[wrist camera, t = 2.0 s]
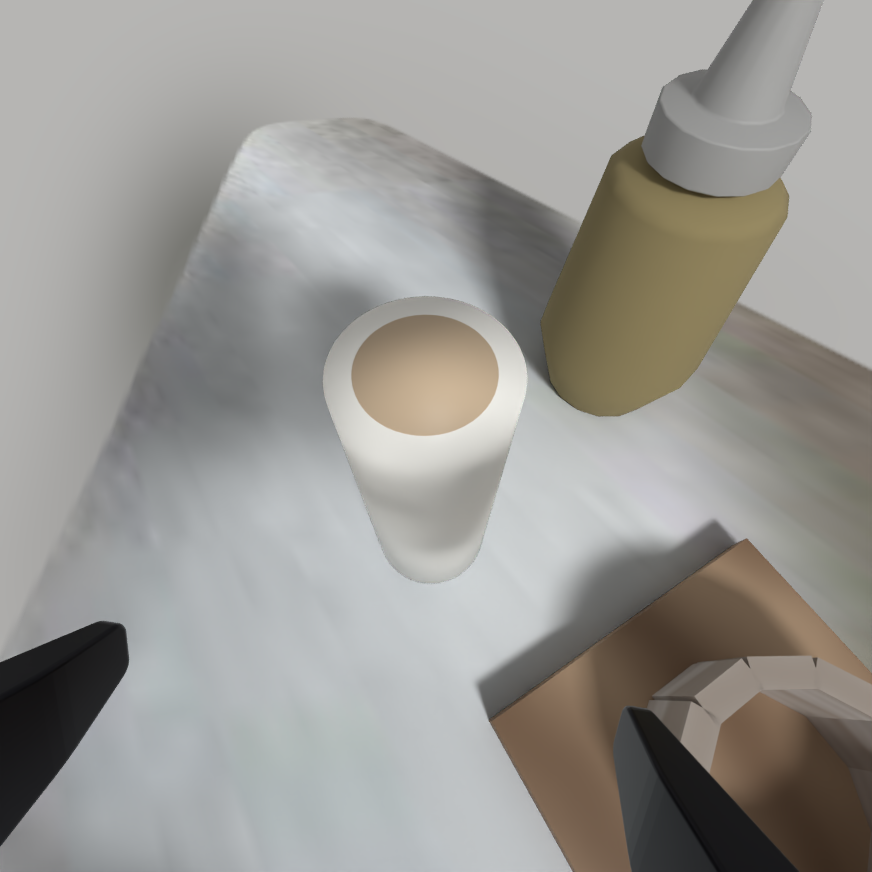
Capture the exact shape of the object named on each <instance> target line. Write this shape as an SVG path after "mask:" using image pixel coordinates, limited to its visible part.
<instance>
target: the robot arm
mask: <svg viewBox="0 0 872 872" xmlns="http://www.w3.org/2000/svg"><path fill="white" fill-rule="evenodd" d="M128 664H129V654H128V644H127V635H126V629H125V627H124V626H123V625H122V624H120V623H114V622H108V621H99V622H96V623H93V624H91V625H89V626H86V627H84V628H81V629H79V630H77V631H74V632H72V633H69V634H67V635H65V636H62V637H60V638H57V639H55V640H53V641H50V642H48V643H46V644H43V645H41V646H38V647H36V648H34V649H31V650H29V651H26V652H24V653H22V654H19V655H17V656H14V657H12V658H10V659H7V660H5V661H3V662H0V846H1V845H2V844H3V843H4V841H5V840H6V839H7V837H8V836H9V835H10V834H11V832H12V831H13V830H14V828H15V827H16V826H17V825H18V823H19V822H20V821H21V820H22V818H23V817H24V816H25V814H26V813H27V812H28V811H29V809H30V808H31V807H32V805H33V804H34V803H35V802H36V800H37V799H38V798H39V797H40V795H41V794H42V793H43V791H44V790H45V789H46V788H47V786H48V785H49V784H50V782H51V781H52V780H53V779H54V777H55V776H56V775H57V773H58V772H59V771H60V769H61V768H62V767H63V765H64V764H65V763H66V761H67V760H68V759H69V757H70V756H71V754H72V753H73V751H74V750H75V749H76V747H77V746H78V744H79V743H80V741H81V740H82V738H83V737H84V735H85V734H86V732H87V731H88V729H89V728H90V726H91V725H92V723H93V722H94V720H95V719H96V717H97V716H98V714H99V712H100V711H101V709H102V708H103V706H104V705H105V703H106V702H107V700H108V699H109V697H110V696H111V694H112V693H113V691H114V690H115V688H116V687H117V685H118V684H119V682H120V681H121V679H122V678H123V676H124V674H125V672H126V670H127V668H128ZM613 757H614V764H615V771H616V777H617V784H618V791H619V797H620V804H621V811H622V817H623V824H624V831H625V837H626V844H627V850H628V856H629V862H630V867H631V871H632V872H800V871H799V870H798V869H797V868H796V867H795V866H794V865H793V864H792V863H791V862H790V861H789V859H788V858H787V857H786V856H785V855H784V854H783V853H782V852H781V851H780V850H779V849H778V847H777V846H776V845H775V844H774V843H773V842H772V841H771V840H770V839H769V838H768V837H767V836H766V834H765V833H764V832H763V831H762V830H761V829H760V828H759V827H758V826H757V825H756V824H755V822H754V821H753V820H752V819H751V818H750V817H749V816H748V815H747V814H746V813H745V812H744V810H743V809H742V808H741V807H740V806H739V805H738V804H737V803H736V802H735V801H734V800H733V799H732V797H731V796H730V795H729V794H728V793H727V792H726V791H725V790H724V789H723V788H722V787H721V785H720V784H719V783H718V782H717V781H716V780H715V779H714V778H713V777H712V776H711V775H710V774H709V772H708V771H707V770H706V769H705V768H704V767H703V766H702V765H701V764H700V763H699V762H698V760H697V759H696V758H695V757H694V756H693V755H692V754H691V753H690V752H689V751H688V750H687V749H686V747H685V746H684V745H683V744H682V743H681V742H680V741H679V740H678V739H677V738H676V737H675V735H674V734H673V733H672V732H671V731H670V730H669V729H668V728H667V727H666V726H665V725H664V723H663V722H662V721H661V720H660V719H659V718H658V717H657V716H656V715H655V714H654V713H653V712H652V711H651V710H649V709H647V708H641V707H635V706H625V707H624V708H623V710H622V713H621V716H620V720H619V724H618V727H617V731H616V735H615V739H614V743H613Z"/></svg>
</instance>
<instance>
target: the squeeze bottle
mask: <svg viewBox="0 0 872 872" xmlns="http://www.w3.org/2000/svg"><path fill="white" fill-rule="evenodd" d="M823 1H824V0H753V1H752V2H751V4H750V5H749V7H748V8H747V10H746V11H745V13H744V15H743V16H742V18H741V19H740V21H739V22H738V24H737V25H736V27H735V28H734V30H733V31H732V33H731V35H730V36H729V38H728V39H727V41H726V42H725V44H724V45H723V47H722V48H721V50H720V52H719V53H718V55H717V56H716V58H715V59H714V61H713V62H712V64H711V65H710V67H709V69H708V70H698V71H694V72H690V73H686V74H682V75H679V76H678V77H677V78H675V79H674V80H672V81H671V82H669V83H668V84H666V85H665V86H664V87H663V88H662V90H661V93H660V96H659V98H658V101H657V104H656V107H655V109H654V112H653V115H652V117H651V120H650V123H649V125H648V128H647V131H646V134H645V136H642V137H640V138H638V139H635V140H633V141H631V142H629V143H628V144H626V145H625V146H624V147H622V148H621V149H620V150H618V151H617V152H616V153H614V154H613V155H612V156H611V158H610V160H609V162H608V165H607V167H606V169H605V172H604V174H603V177H602V179H601V181H600V183H599V186H598V188H597V190H596V193H595V195H594V197H593V199H592V202H591V204H590V207H589V209H588V211H587V214H586V216H585V218H584V220H583V223H582V225H581V227H580V230H579V232H578V234H577V237H576V239H575V241H574V244H573V246H572V248H571V251H570V253H569V255H568V257H567V260H566V262H565V264H564V267H563V269H562V271H561V274H560V276H559V278H558V281H557V283H556V285H555V288H554V290H553V292H552V295H551V297H550V299H549V302H548V304H547V307H546V309H545V312H544V314H543V317H542V319H541V329H542V336H543V343H544V349H545V355H546V360H547V365H548V371H549V376H550V382H551V383H552V385H553V386H554V388H555V389H556V391H557V392H558V394H559V395H560V397H561V398H562V399H564V400H565V401H566V402H568V403H569V404H571V405H572V406H573V407H575V408H576V409H577V410H580V411H583V412H586V413H589V414H592V415H596V416H621V415H623V414H626V413H628V412H631V411H634V410H636V409H638V408H640V407H642V406H644V405H646V404H648V403H650V402H652V401H654V400H656V399H658V398H660V397H662V396H664V395H666V394H668V393H670V392H672V391H674V390H677V389H679V388H680V387H681V386H682V385H683V384H684V383H685V382H686V381H687V379H688V378H689V377H690V376H691V375H692V374H693V373H694V372H695V371H696V369H697V368H698V366H699V365H700V363H701V361H702V360H703V358H704V356H705V355H706V353H707V351H708V350H709V348H710V346H711V345H712V343H713V341H714V340H715V338H716V336H717V335H718V333H719V331H720V330H721V328H722V326H723V325H724V323H725V321H726V319H727V318H728V316H729V314H730V313H731V311H732V309H733V308H734V306H735V304H736V303H737V301H738V299H739V298H740V296H741V294H742V293H743V291H744V289H745V288H746V286H747V284H748V282H749V281H750V279H751V277H752V275H753V274H754V272H755V271H756V269H757V267H758V266H759V264H760V262H761V261H762V259H763V257H764V256H765V254H766V252H767V251H768V249H769V247H770V245H771V244H772V242H773V240H774V239H775V237H776V236H777V234H778V232H779V230H780V229H781V227H782V225H783V224H784V222H785V220H786V219H787V214H788V203H789V194H788V192H787V190H786V188H785V186H784V184H783V182H782V180H781V178H780V177H781V176H782V174H783V173H784V171H785V170H786V168H787V167H788V165H789V164H790V162H791V161H792V159H793V158H794V156H795V155H796V153H797V152H798V150H799V149H800V147H801V146H802V144H803V143H804V141H805V140H806V138H807V137H808V135H809V134H810V132H811V119H812V115H811V112H810V111H809V109H808V108H807V106H806V105H805V104H804V102H803V101H802V99H801V98H800V97H799V96H797V95H796V94H794V93H793V92H792V91H790V90H791V88H792V85H793V82H794V79H795V77H796V74H797V71H798V69H799V66H800V63H801V60H802V58H803V55H804V52H805V50H806V47H807V44H808V42H809V39H810V36H811V33H812V31H813V28H814V25H815V23H816V20H817V17H818V14H819V12H820V9H821V6H822V4H823Z"/></svg>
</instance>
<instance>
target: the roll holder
mask: <svg viewBox="0 0 872 872" xmlns="http://www.w3.org/2000/svg"><path fill="white" fill-rule="evenodd" d="M625 706H635V707H641V708H647V709H649V710H651V711H652V712H653V713H654V714H655V715H656V716H657V717H658V718H659V719H660V720H661V721H662V722H663V723H664V725H665V726H666V727H667V728H668V729H669V730H670V731H671V732H672V733H673V734H674V735H675V737H676V738H677V739H678V740H679V741H680V742H681V743H682V744H683V745H684V746H685V747H686V749H687V750H688V751H689V752H690V753H691V754H692V755H693V756H694V757H695V758H696V759H697V760H698V762H699V763H700V764H701V765H702V766H703V767H704V768H705V769H706V770H707V771H708V772H709V774H710V775H711V776H712V777H713V778H714V779H715V780H716V781H717V782H718V783H719V784H720V785H721V787H722V788H723V789H724V790H725V791H726V792H727V793H728V794H729V795H730V796H731V797H732V799H733V800H734V801H735V802H736V803H737V804H738V805H739V806H740V807H741V808H742V809H743V810H744V812H745V813H746V814H747V815H748V816H749V817H750V818H751V819H752V820H753V821H754V822H755V824H756V825H757V826H758V827H759V828H760V829H761V830H762V831H763V832H764V833H765V834H766V836H767V837H768V838H769V839H770V840H771V841H772V842H773V843H774V844H775V845H776V846H777V847H778V849H779V850H780V851H781V852H782V853H783V854H784V855H785V856H786V857H787V858H788V859H789V861H790V862H791V863H792V864H793V865H794V866H795V867H796V868H797V869H798V870H799V871H800V872H872V673H871V672H870V671H869V670H868V669H867V668H866V667H865V666H864V665H863V663H862V662H861V661H860V660H859V659H858V658H857V657H856V656H855V655H854V654H853V653H852V652H851V650H850V649H849V648H848V647H847V646H846V645H845V644H844V643H843V642H842V641H841V640H840V639H839V638H838V636H837V635H836V634H835V633H834V632H833V631H832V630H831V629H830V628H829V627H828V626H827V625H826V623H825V622H824V621H823V620H822V619H821V618H820V617H819V616H818V615H817V614H816V613H815V612H814V610H813V609H812V608H811V607H810V606H809V605H808V604H807V603H806V602H805V601H804V600H803V599H802V598H801V596H800V595H799V594H798V593H797V592H796V591H795V590H794V589H793V588H792V587H791V586H790V585H789V583H788V582H787V581H786V580H785V579H784V578H783V577H782V576H781V575H780V574H779V573H778V572H777V571H776V569H775V568H774V567H773V566H772V565H771V564H770V563H769V562H768V561H767V560H766V559H765V558H764V556H763V555H762V554H761V553H760V552H759V551H758V550H757V549H756V548H755V547H754V546H753V545H752V543H751V542H750V541H749V540H748V539H747V538H746V539H744V540H742V541H740V542H738V543H736V544H734V545H732V546H731V547H730V548H728V549H727V550H725V551H724V552H723V553H721V554H720V555H718V556H717V557H716V558H714V559H713V560H711V561H710V562H709V563H707V564H706V565H705V566H703V567H702V568H700V569H699V570H698V571H696V572H695V573H693V574H692V575H691V576H689V577H688V578H686V579H685V580H684V581H682V582H681V583H679V584H678V585H677V586H675V587H674V588H672V589H671V590H670V591H668V592H667V593H665V594H664V595H663V596H661V597H660V598H658V599H657V600H656V601H654V602H653V603H651V604H650V605H649V606H647V607H646V608H644V609H643V610H642V611H640V612H639V613H637V614H636V615H635V616H633V617H632V618H630V619H629V620H628V621H626V622H625V623H623V624H622V625H621V626H619V627H618V628H616V629H615V630H614V631H612V632H611V633H610V634H608V635H607V636H605V637H604V638H603V639H601V640H600V641H598V642H597V643H596V644H594V645H593V646H591V647H590V648H589V649H587V650H586V651H584V652H583V653H582V654H580V655H579V656H577V657H576V658H575V659H573V660H572V661H570V662H569V663H568V664H566V665H565V666H563V667H562V668H561V669H559V670H558V671H556V672H555V673H554V674H552V675H551V676H549V677H548V678H547V679H545V680H544V681H542V682H541V683H540V684H538V685H537V686H535V687H534V688H533V689H531V690H530V691H528V692H527V693H526V694H524V695H523V696H521V697H520V698H519V699H517V700H516V701H514V702H513V703H512V704H510V705H509V706H508V707H506V708H505V709H503V710H502V711H501V712H499V713H498V714H496V715H495V716H494V717H492V718H491V719H489V722H490V724H491V725H492V727H493V729H494V731H495V733H496V734H497V736H498V738H499V740H500V742H501V743H502V745H503V747H504V749H505V751H506V752H507V754H508V756H509V758H510V759H511V761H512V763H513V765H514V767H515V768H516V770H517V772H518V774H519V776H520V777H521V779H522V781H523V783H524V785H525V786H526V788H527V790H528V792H529V794H530V795H531V797H532V799H533V801H534V803H535V804H536V806H537V808H538V810H539V812H540V813H541V815H542V817H543V819H544V821H545V822H546V824H547V826H548V828H549V830H550V831H551V833H552V835H553V837H554V838H555V840H556V842H557V844H558V846H559V847H560V849H561V851H562V853H563V855H564V856H565V858H566V860H567V862H568V864H569V865H570V867H571V869H572V871H573V872H632V871H631V867H630V862H629V856H628V850H627V844H626V837H625V831H624V824H623V817H622V811H621V804H620V797H619V791H618V784H617V777H616V771H615V764H614V757H613V743H614V739H615V735H616V731H617V727H618V724H619V720H620V716H621V713H622V710H623V708H624V707H625Z"/></svg>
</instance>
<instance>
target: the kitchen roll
mask: <svg viewBox="0 0 872 872" xmlns="http://www.w3.org/2000/svg"><path fill="white" fill-rule="evenodd" d="M526 389H527V369H526V364H525V359H524V357H523V354H522V351H521V349H520V347H519V345H518V344H517V342H516V340H515V339H514V337H513V336H512V335H511V333H510V332H509V331H508V330H507V329H506V328H505V327H504V326H503V325H502V324H501V323H500V322H499V321H498V320H496V319H495V318H494V317H493V316H491V315H489V314H488V313H486V312H485V311H483V310H481V309H479V308H477V307H475V306H473V305H470V304H467V303H464V302H461V301H458V300H454V299H449V298H442V297H429V296H422V297H410V298H404V299H399V300H395V301H391V302H388V303H385V304H383V305H380V306H377V307H375V308H373V309H371V310H369V311H367V312H366V313H364V314H363V315H361V316H360V317H358V318H357V319H356V320H354V321H353V322H352V323H351V324H349V325H348V326H347V327H346V328H345V330H344V331H343V332H342V333H341V334H340V335H339V337H338V338H337V339H336V341H335V342H334V344H333V346H332V348H331V349H330V351H329V354H328V356H327V359H326V362H325V367H324V371H323V390H324V396H325V400H326V403H327V406H328V409H329V412H330V414H331V417H332V420H333V422H334V425H335V427H336V430H337V433H338V435H339V438H340V441H341V443H342V446H343V448H344V451H345V454H346V456H347V459H348V461H349V464H350V467H351V469H352V472H353V475H354V477H355V480H356V482H357V485H358V488H359V490H360V493H361V496H362V498H363V501H364V503H365V506H366V509H367V511H368V514H369V516H370V519H371V522H372V524H373V527H374V530H375V532H376V535H377V537H378V540H379V543H380V545H381V548H382V551H383V553H384V555H385V557H386V559H387V560H388V562H389V563H390V565H391V566H392V567H393V568H394V569H395V570H396V571H397V572H398V573H400V574H401V575H403V576H404V577H406V578H408V579H410V580H413V581H416V582H420V583H426V584H435V583H442V582H446V581H449V580H451V579H454V578H455V577H457V576H459V575H460V574H462V573H463V572H465V571H466V570H467V569H468V568H469V567H470V565H471V564H472V563H473V562H474V560H475V558H476V557H477V555H478V553H479V550H480V547H481V544H482V540H483V537H484V534H485V530H486V527H487V523H488V520H489V517H490V513H491V510H492V507H493V503H494V500H495V496H496V493H497V490H498V486H499V483H500V480H501V476H502V473H503V469H504V466H505V463H506V459H507V456H508V453H509V449H510V446H511V442H512V439H513V436H514V432H515V429H516V426H517V422H518V419H519V415H520V412H521V409H522V405H523V402H524V398H525V395H526Z"/></svg>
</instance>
